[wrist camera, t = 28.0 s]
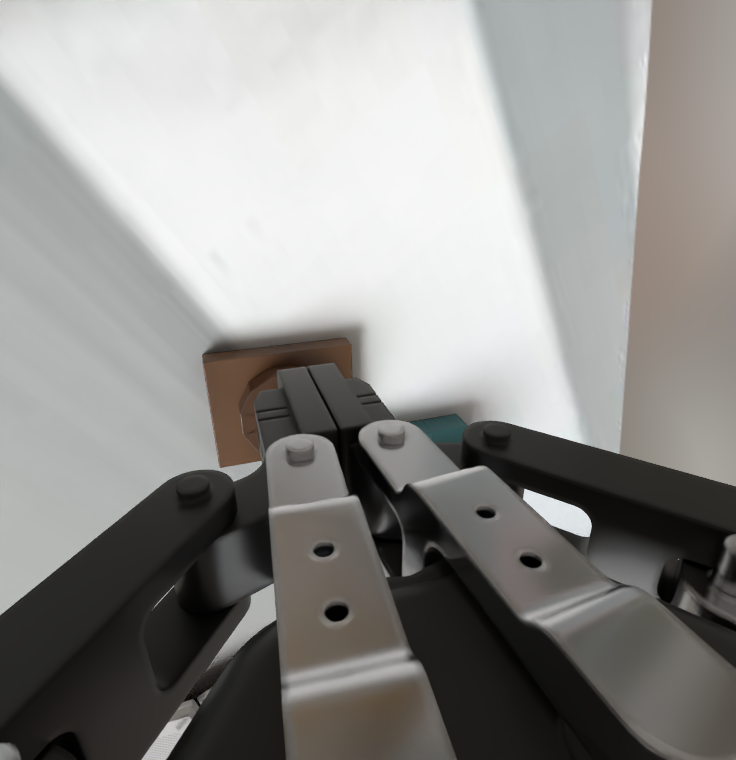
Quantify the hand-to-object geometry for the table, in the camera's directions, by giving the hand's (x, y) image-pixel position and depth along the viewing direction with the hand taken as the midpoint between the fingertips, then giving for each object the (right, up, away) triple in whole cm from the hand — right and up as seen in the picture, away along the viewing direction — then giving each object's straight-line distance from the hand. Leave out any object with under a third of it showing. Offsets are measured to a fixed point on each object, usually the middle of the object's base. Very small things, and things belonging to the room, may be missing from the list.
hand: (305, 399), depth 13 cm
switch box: (-5, -1, +27) cm, 28 cm away
